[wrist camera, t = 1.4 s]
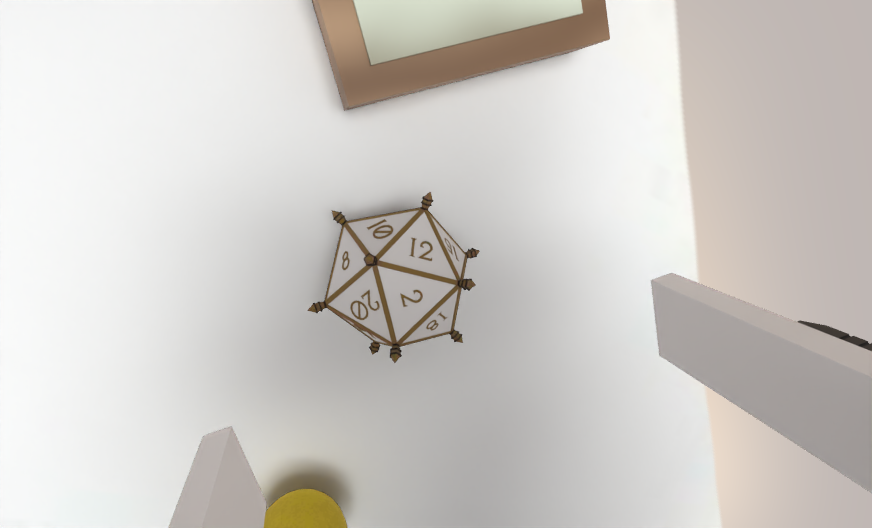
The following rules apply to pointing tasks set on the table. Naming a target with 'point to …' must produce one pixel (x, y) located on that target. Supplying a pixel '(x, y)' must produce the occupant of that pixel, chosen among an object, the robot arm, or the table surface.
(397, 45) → the framed mirror
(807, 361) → the robot arm
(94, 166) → the table surface
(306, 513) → the lemon
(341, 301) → the game die
